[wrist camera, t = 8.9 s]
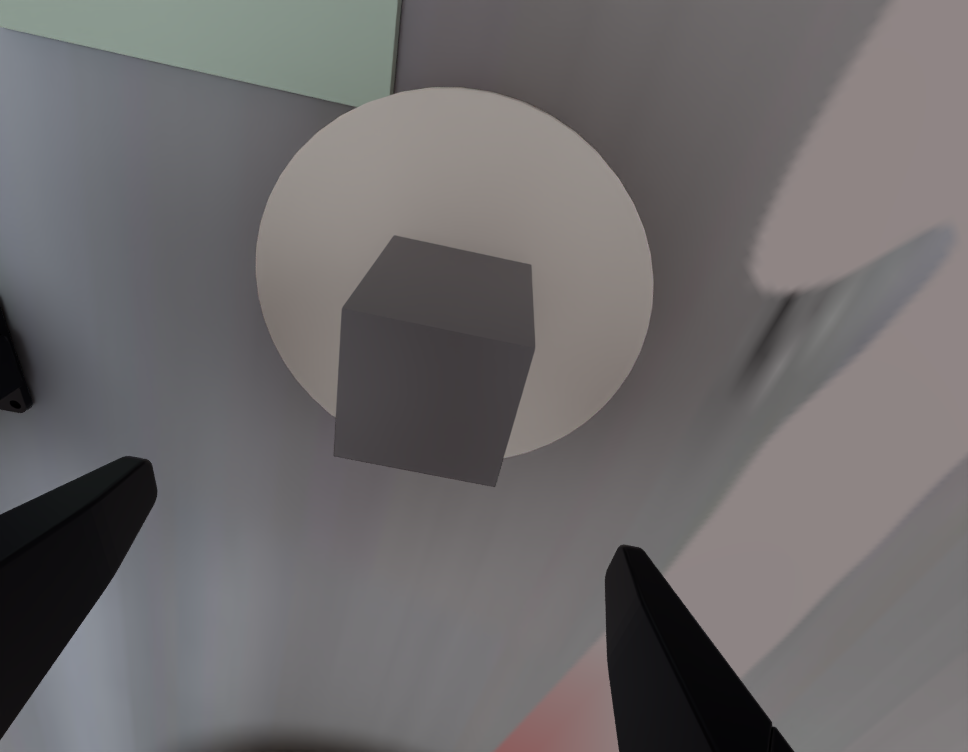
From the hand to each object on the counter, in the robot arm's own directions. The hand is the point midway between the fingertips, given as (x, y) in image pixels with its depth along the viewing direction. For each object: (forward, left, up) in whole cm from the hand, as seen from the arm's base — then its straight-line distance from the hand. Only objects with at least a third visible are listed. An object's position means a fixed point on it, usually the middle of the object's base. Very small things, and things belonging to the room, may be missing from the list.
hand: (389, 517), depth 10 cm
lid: (0, +1, -8) cm, 8 cm away
